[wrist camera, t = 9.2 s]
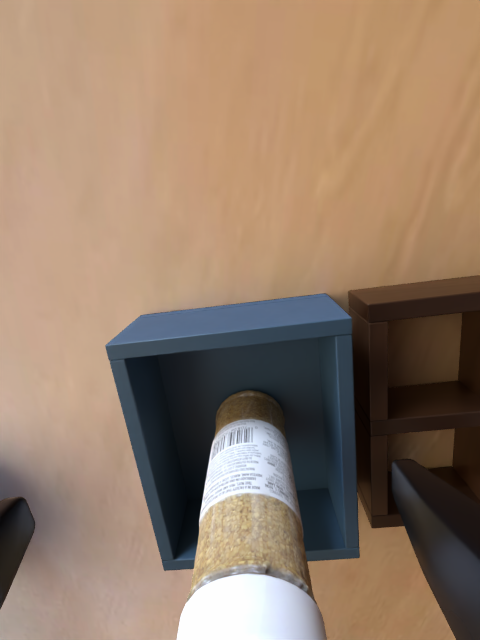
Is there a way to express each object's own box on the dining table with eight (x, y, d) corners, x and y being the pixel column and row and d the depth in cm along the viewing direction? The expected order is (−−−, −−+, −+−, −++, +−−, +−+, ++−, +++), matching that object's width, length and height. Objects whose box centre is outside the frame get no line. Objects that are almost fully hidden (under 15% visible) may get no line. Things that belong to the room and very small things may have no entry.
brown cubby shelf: (465, 476, 23) (501, 519, 20) (354, 485, 24) (371, 528, 21) (482, 274, 19) (531, 285, 16) (348, 290, 20) (367, 304, 16)
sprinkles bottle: (224, 451, 22) (191, 763, 10) (208, 393, 21) (144, 661, 8) (291, 440, 22) (349, 750, 9) (278, 380, 21) (324, 641, 8)
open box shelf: (336, 487, 24) (359, 558, 19) (181, 499, 25) (163, 571, 20) (326, 292, 20) (352, 317, 15) (140, 314, 21) (104, 345, 16)
